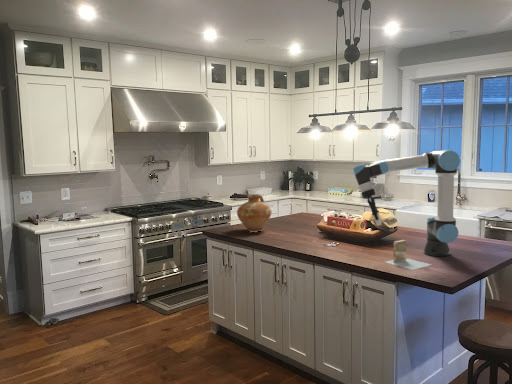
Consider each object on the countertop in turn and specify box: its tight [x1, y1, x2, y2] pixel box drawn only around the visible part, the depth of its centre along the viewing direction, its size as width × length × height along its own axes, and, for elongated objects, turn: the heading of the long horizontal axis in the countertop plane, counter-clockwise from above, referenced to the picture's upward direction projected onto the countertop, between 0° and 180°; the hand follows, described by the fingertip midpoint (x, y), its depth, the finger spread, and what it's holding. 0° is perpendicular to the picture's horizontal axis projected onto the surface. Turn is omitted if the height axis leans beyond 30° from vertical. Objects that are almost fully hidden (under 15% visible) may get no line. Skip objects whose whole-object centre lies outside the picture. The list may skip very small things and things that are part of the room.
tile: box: [392, 239, 407, 263], centre depth 261 cm, size 2×8×12 cm, turn 122°
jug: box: [236, 193, 272, 232], centre depth 362 cm, size 28×28×30 cm
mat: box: [384, 257, 432, 271], centre depth 257 cm, size 20×17×1 cm
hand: (379, 224), depth 262 cm, fingers open, 13 cm apart
